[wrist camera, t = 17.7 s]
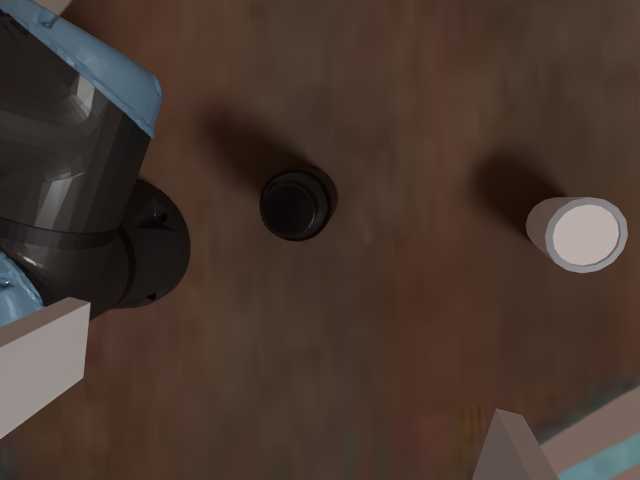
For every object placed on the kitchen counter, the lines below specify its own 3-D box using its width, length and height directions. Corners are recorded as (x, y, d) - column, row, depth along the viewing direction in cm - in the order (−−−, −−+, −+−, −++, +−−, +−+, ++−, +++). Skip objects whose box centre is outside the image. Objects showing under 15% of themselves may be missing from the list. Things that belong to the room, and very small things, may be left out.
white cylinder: (517, 256, 45) (543, 273, 38) (521, 192, 44) (547, 198, 37) (586, 255, 44) (624, 273, 38) (591, 190, 43) (632, 196, 36)
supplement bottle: (271, 217, 48) (237, 235, 36) (287, 158, 47) (258, 158, 35) (328, 235, 48) (313, 260, 36) (347, 177, 46) (337, 183, 34)
